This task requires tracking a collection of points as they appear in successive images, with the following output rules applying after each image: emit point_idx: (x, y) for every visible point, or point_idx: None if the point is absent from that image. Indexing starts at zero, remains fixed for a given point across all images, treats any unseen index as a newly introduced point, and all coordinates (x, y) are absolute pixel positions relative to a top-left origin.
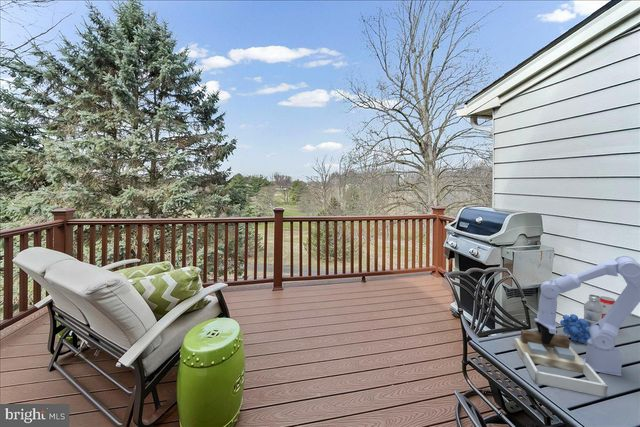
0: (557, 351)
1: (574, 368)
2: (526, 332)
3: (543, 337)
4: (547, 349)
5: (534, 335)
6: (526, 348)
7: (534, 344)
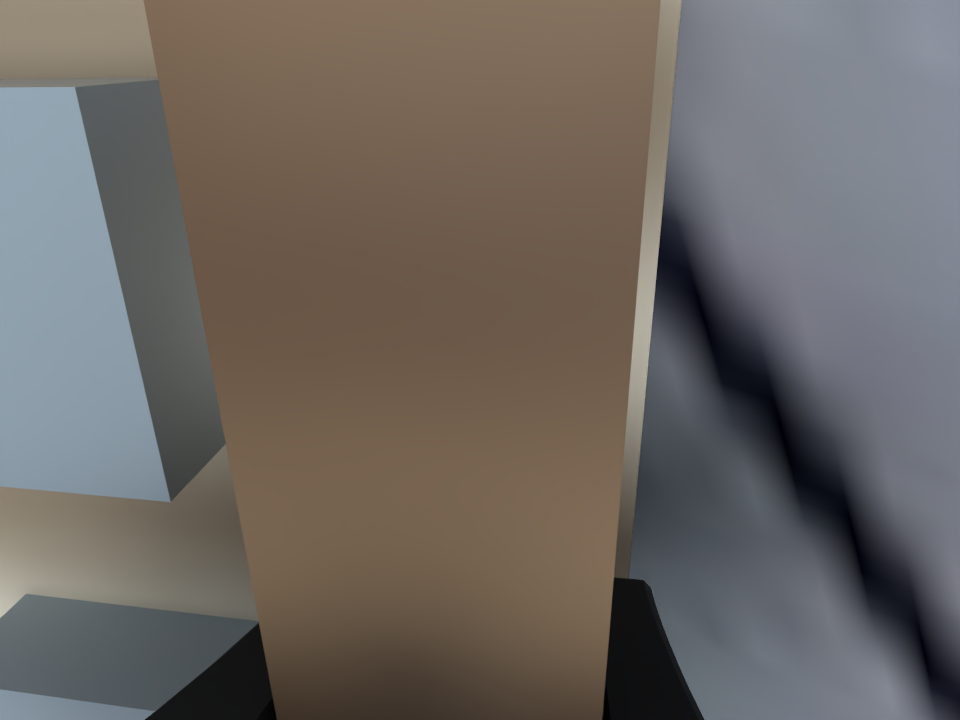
0: (29, 681)
1: None
2: (291, 158)
3: (165, 712)
4: None
5: (257, 471)
6: (36, 12)
7: (23, 277)
